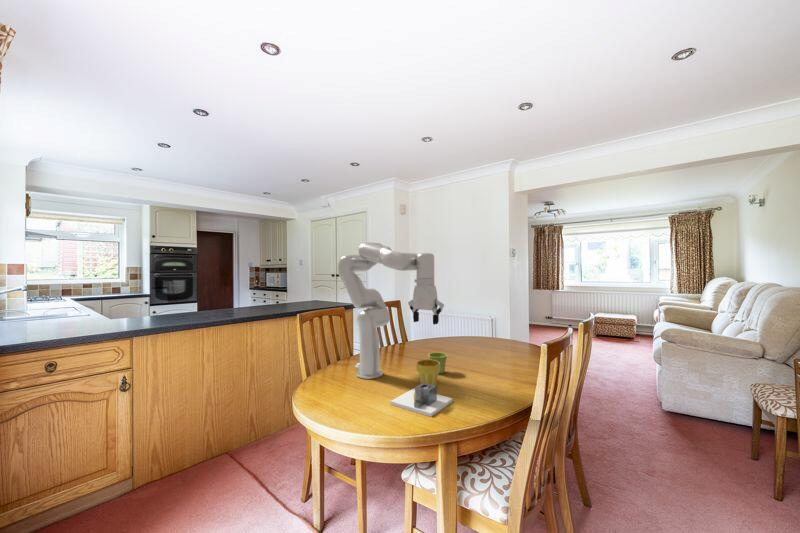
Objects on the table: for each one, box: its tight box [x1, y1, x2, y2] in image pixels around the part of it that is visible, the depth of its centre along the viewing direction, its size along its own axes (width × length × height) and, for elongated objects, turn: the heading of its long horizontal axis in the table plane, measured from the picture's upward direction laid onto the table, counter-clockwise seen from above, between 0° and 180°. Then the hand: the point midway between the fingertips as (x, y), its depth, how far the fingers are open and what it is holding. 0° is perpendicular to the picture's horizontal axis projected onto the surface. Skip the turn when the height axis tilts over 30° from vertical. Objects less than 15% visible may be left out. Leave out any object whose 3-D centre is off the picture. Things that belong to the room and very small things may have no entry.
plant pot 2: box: [428, 351, 449, 375], centre depth 163 cm, size 9×9×9 cm
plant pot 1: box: [416, 358, 440, 386], centre depth 146 cm, size 10×10×10 cm
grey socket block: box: [414, 383, 438, 408], centre depth 124 cm, size 10×6×6 cm, turn 146°
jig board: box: [389, 388, 454, 418], centre depth 127 cm, size 18×16×1 cm
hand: (425, 322), depth 141 cm, fingers open, 9 cm apart
